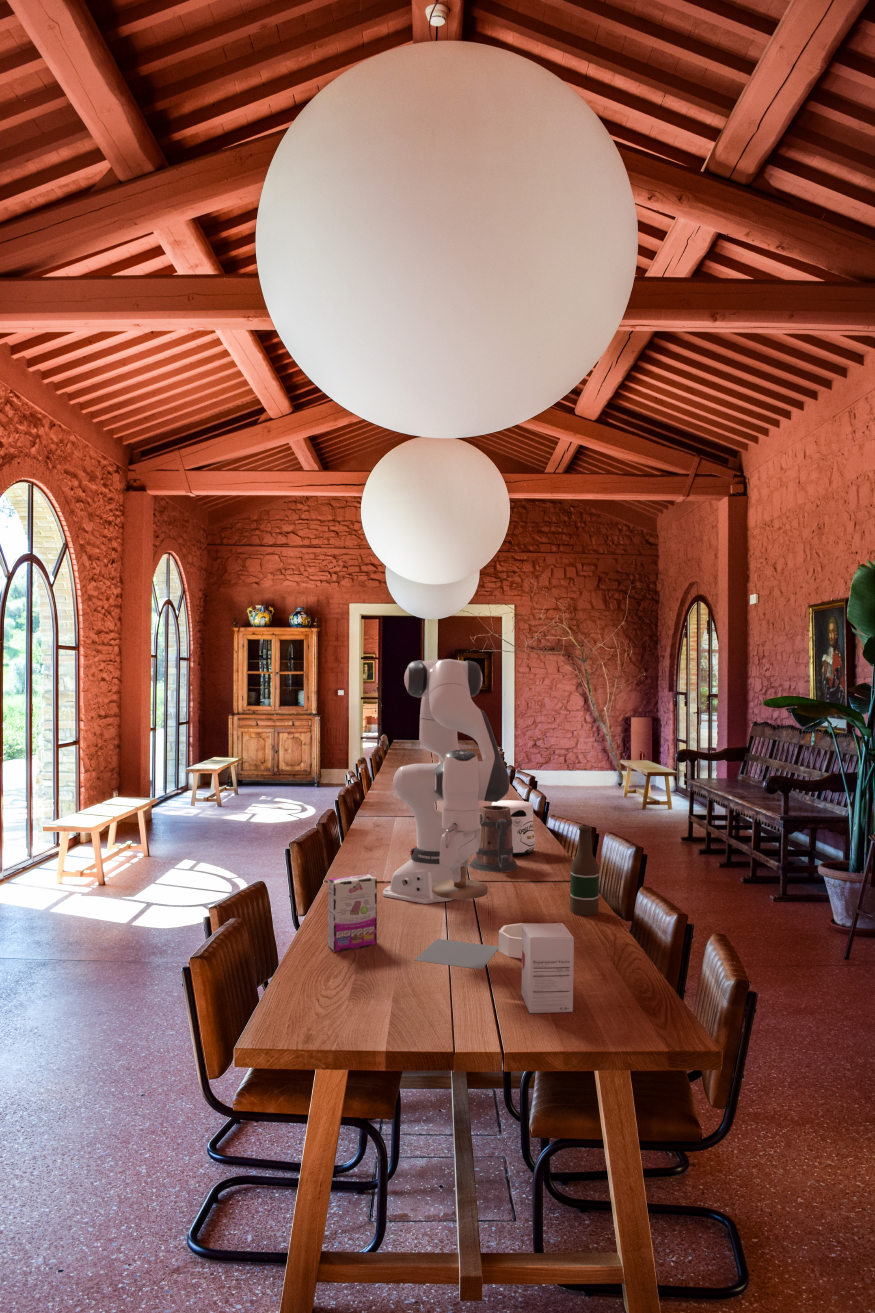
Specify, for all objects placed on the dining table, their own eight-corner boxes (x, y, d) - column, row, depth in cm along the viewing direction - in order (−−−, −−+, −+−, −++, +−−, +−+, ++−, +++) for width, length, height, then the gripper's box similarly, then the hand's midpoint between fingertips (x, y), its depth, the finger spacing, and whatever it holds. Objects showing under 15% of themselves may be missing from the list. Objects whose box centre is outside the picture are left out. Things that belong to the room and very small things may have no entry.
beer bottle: (598, 917, 225) (599, 829, 225) (569, 915, 226) (570, 827, 226) (598, 909, 232) (599, 824, 233) (570, 907, 234) (571, 822, 234)
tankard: (464, 860, 289) (465, 803, 289) (511, 859, 292) (512, 802, 292) (480, 877, 266) (480, 815, 266) (530, 876, 269) (531, 814, 269)
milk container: (537, 858, 294) (538, 807, 294) (489, 857, 294) (489, 807, 294) (532, 848, 311) (533, 800, 312) (486, 847, 311) (487, 799, 312)
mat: (414, 962, 188) (414, 960, 188) (437, 941, 203) (437, 938, 203) (481, 972, 183) (481, 969, 183) (500, 949, 198) (500, 946, 198)
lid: (424, 895, 189) (424, 871, 189) (442, 882, 202) (442, 859, 202) (478, 901, 185) (479, 876, 185) (493, 887, 197) (494, 863, 197)
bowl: (494, 957, 192) (494, 935, 192) (507, 942, 203) (507, 921, 203) (543, 963, 189) (543, 941, 189) (553, 947, 199) (553, 927, 200)
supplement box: (520, 995, 170) (521, 922, 170) (562, 995, 171) (563, 922, 171) (528, 1014, 161) (529, 937, 161) (573, 1013, 162) (574, 936, 162)
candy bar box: (369, 940, 204) (370, 873, 204) (377, 946, 199) (378, 877, 199) (326, 946, 198) (327, 878, 199) (333, 953, 194) (334, 882, 194)
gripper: (459, 829, 183) (459, 892, 182) (485, 814, 202) (484, 870, 202) (433, 827, 185) (432, 889, 185) (460, 812, 204) (460, 868, 204)
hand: (459, 879), depth 193 cm, fingers closed on lid, 3 cm apart
